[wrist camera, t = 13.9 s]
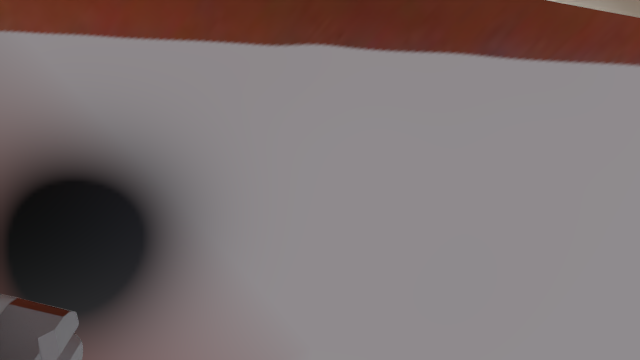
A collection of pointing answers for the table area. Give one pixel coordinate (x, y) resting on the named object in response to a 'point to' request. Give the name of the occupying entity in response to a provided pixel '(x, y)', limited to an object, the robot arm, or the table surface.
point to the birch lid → (608, 5)
